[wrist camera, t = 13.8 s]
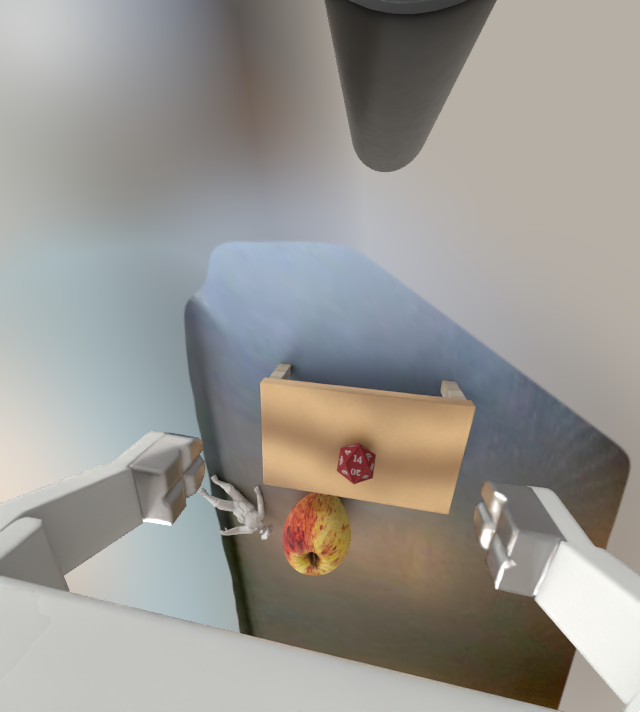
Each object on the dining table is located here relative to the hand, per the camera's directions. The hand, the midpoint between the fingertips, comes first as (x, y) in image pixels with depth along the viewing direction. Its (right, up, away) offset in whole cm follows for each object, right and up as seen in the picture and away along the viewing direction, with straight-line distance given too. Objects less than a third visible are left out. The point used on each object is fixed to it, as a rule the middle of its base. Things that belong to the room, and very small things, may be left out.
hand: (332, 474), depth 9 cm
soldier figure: (-13, -19, +39) cm, 45 cm away
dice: (+4, -7, +24) cm, 26 cm away
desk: (+5, -5, +30) cm, 31 cm away
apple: (0, -18, +36) cm, 41 cm away
